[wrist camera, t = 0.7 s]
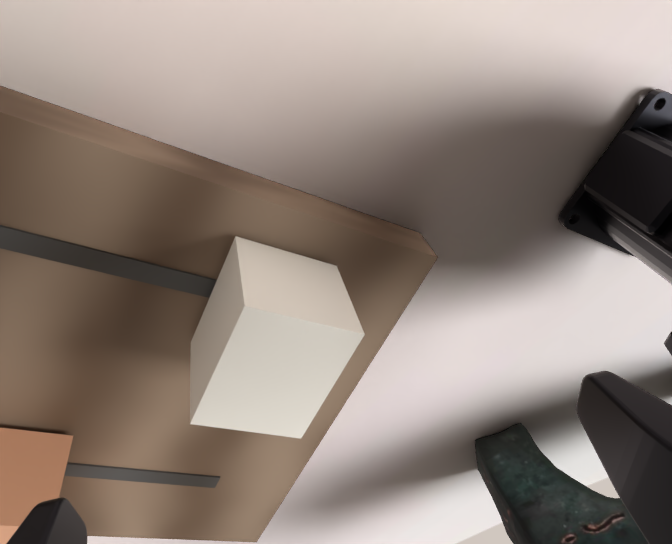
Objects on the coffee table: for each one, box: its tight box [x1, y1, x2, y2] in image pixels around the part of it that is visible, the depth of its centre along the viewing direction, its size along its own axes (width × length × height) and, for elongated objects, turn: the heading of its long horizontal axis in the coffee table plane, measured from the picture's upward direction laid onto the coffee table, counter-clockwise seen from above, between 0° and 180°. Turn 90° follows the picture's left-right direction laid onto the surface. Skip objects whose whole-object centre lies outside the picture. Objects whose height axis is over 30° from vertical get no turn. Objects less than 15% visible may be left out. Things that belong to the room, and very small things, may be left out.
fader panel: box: [0, 86, 438, 542], centre depth 21 cm, size 21×20×2 cm
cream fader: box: [190, 236, 365, 439], centre depth 18 cm, size 4×5×4 cm
